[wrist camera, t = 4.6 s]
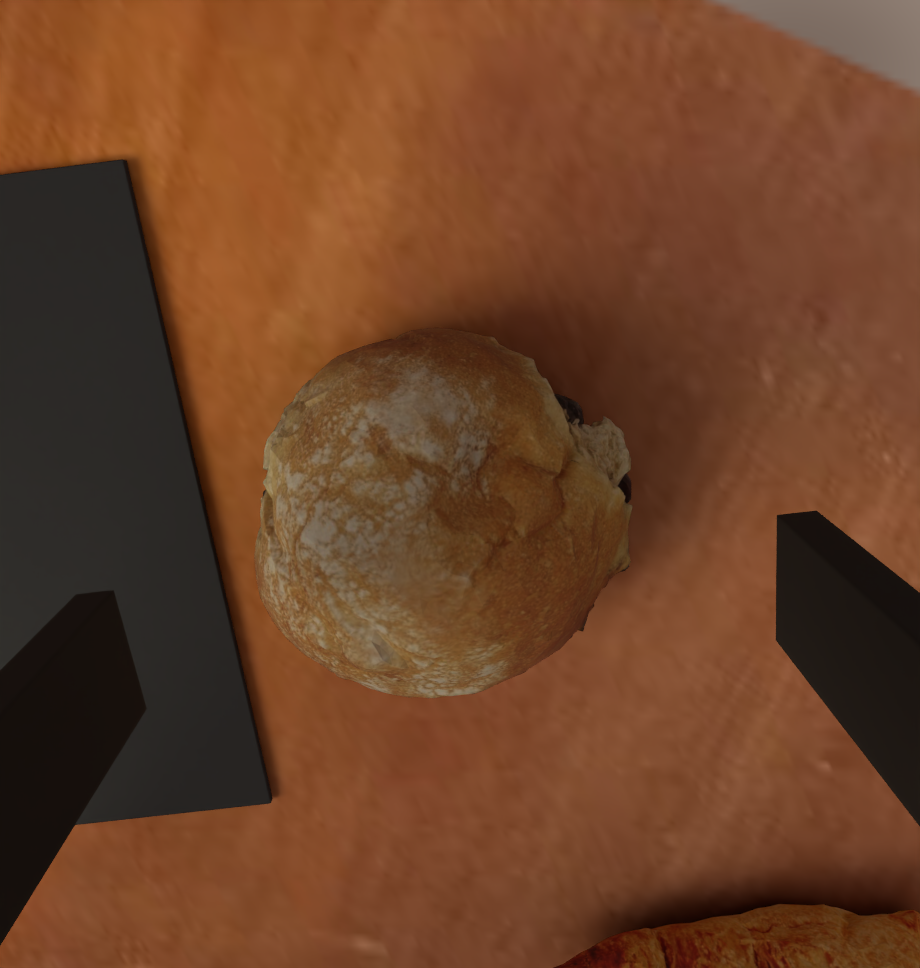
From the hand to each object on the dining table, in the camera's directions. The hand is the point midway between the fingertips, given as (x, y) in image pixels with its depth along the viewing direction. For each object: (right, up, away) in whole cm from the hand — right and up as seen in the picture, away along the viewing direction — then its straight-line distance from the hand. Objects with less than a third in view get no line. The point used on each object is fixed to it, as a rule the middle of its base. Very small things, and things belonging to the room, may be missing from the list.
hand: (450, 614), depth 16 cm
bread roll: (0, +2, +8) cm, 8 cm away
